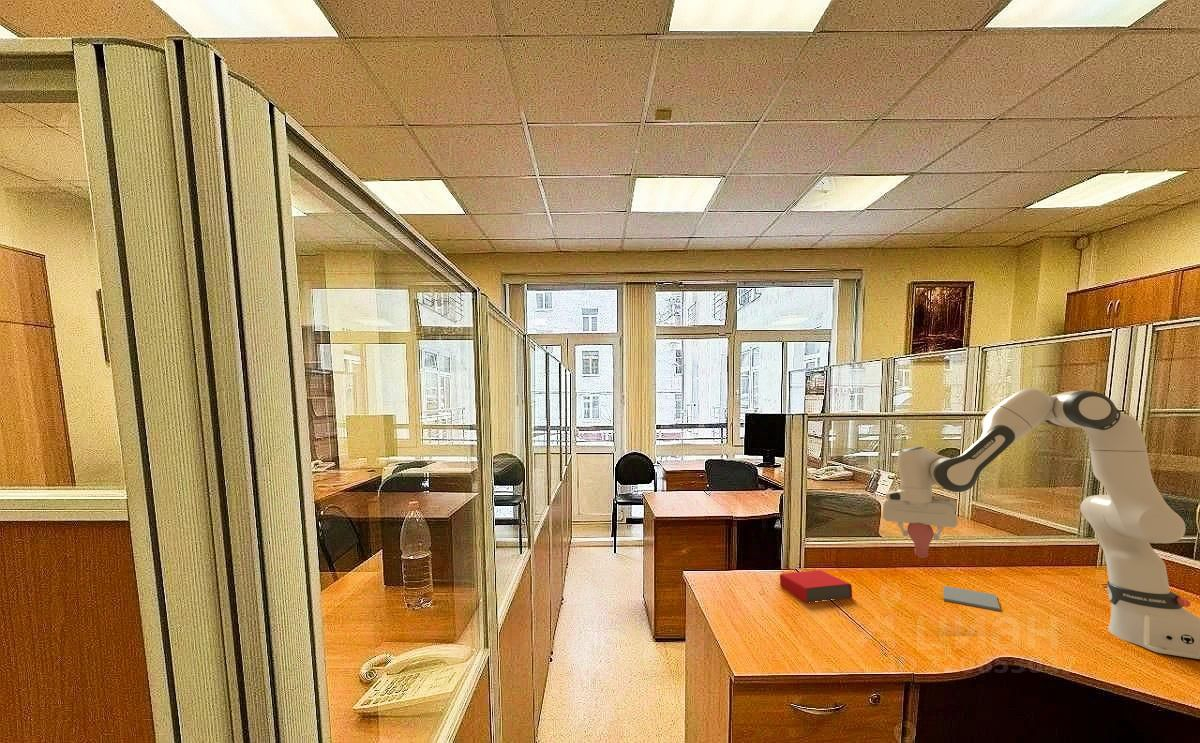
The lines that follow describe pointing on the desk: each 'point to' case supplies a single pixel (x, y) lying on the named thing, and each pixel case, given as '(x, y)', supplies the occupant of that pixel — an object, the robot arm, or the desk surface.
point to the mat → (971, 598)
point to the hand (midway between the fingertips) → (920, 537)
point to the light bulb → (920, 537)
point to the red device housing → (815, 586)
